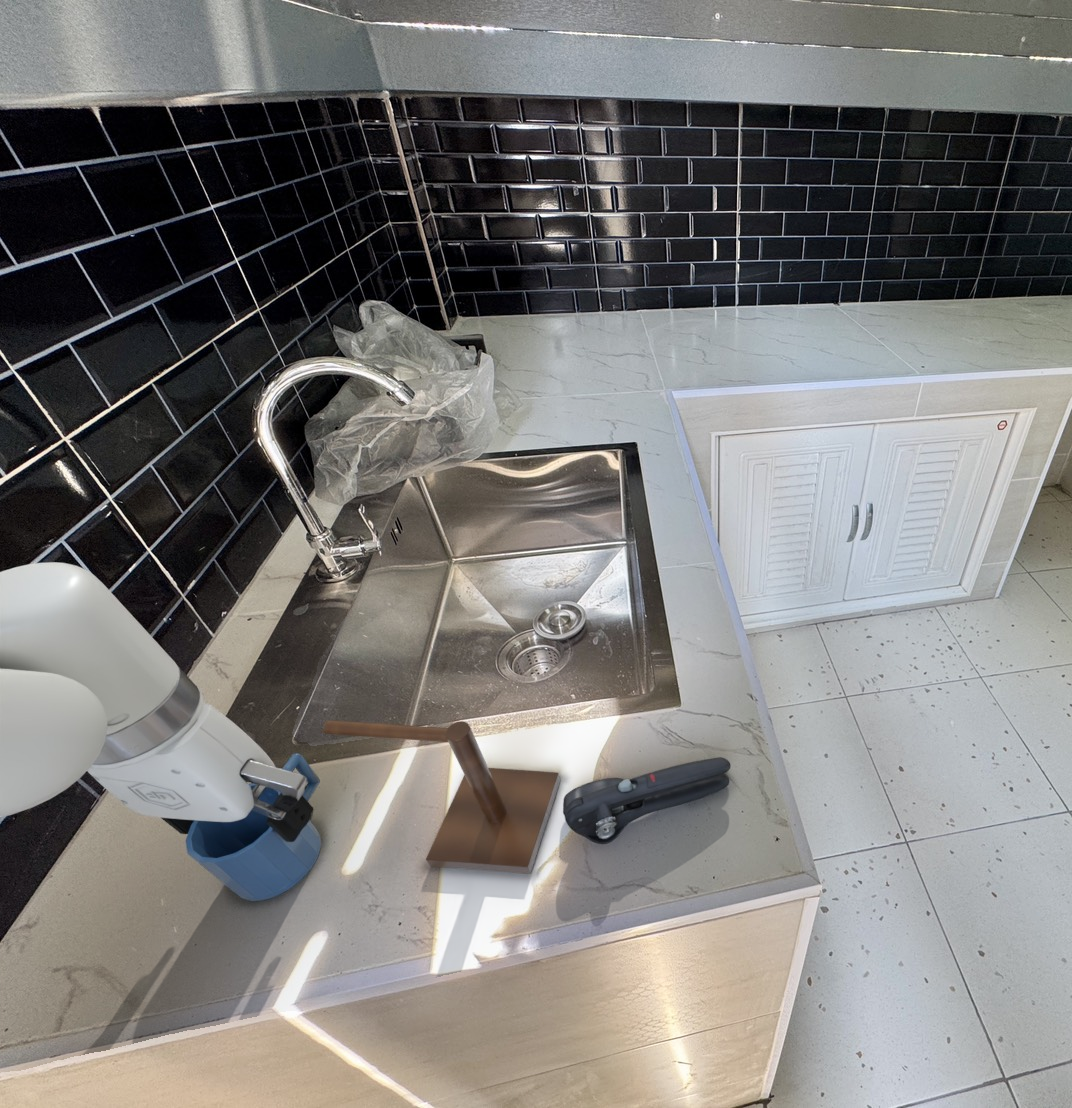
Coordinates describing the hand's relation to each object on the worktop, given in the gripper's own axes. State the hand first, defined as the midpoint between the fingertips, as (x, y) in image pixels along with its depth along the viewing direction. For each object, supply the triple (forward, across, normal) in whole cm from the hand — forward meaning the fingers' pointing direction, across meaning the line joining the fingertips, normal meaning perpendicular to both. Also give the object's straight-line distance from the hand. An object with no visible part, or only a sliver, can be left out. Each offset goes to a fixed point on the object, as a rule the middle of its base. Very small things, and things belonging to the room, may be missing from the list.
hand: (249, 821), depth 55 cm
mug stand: (+7, +17, +5) cm, 18 cm away
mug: (+6, 0, +1) cm, 7 cm away
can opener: (+7, +36, +8) cm, 37 cm away
